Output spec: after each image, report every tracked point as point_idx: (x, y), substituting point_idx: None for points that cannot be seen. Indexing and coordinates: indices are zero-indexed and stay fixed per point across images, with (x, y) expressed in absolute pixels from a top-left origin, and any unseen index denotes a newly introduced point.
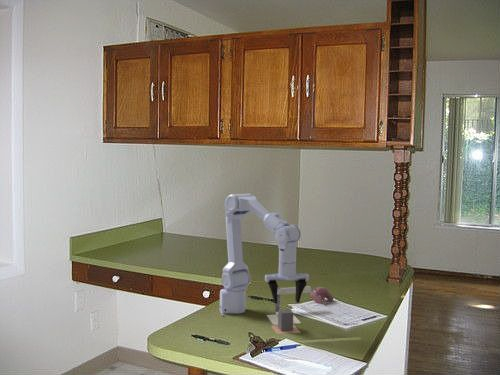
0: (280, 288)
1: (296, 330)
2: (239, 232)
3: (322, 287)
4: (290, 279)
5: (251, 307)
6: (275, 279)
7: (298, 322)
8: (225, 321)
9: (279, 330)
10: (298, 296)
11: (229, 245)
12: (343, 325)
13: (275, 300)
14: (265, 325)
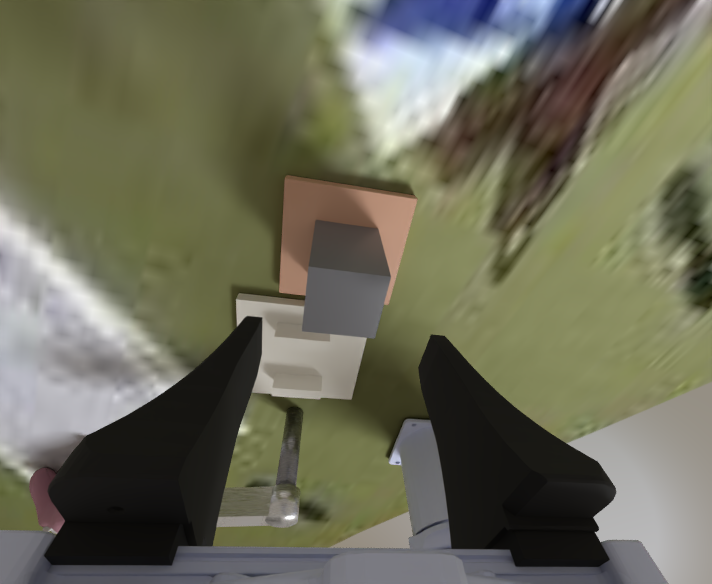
0: (266, 521)
1: (295, 215)
2: None
3: (52, 531)
4: (400, 562)
5: (359, 462)
6: (519, 578)
7: (247, 307)
8: (509, 388)
9: (381, 240)
10: (243, 347)
11: None
12: (3, 238)
13: (453, 349)
14: (394, 327)
